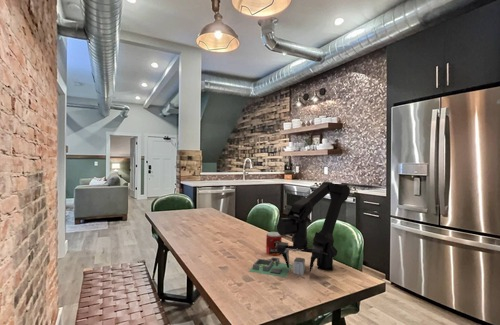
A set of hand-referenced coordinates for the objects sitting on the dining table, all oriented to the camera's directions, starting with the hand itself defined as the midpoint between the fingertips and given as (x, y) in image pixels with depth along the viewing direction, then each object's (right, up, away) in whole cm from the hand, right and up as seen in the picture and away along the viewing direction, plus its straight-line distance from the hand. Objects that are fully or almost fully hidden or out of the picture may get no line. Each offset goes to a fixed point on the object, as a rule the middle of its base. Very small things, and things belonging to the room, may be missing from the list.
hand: (299, 269), depth 119 cm
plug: (0, -2, 0) cm, 2 cm away
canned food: (-9, -2, +23) cm, 25 cm away
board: (-12, -2, +3) cm, 12 cm away
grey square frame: (-15, -1, +4) cm, 16 cm away
